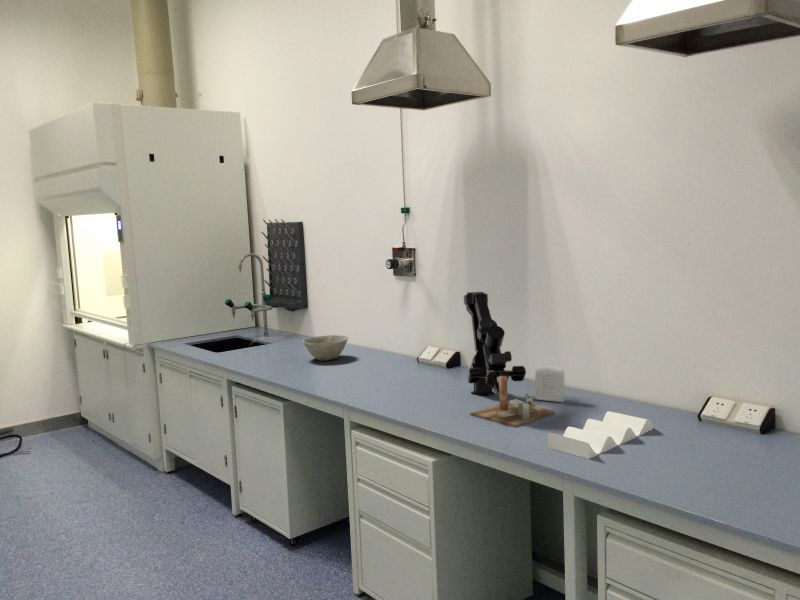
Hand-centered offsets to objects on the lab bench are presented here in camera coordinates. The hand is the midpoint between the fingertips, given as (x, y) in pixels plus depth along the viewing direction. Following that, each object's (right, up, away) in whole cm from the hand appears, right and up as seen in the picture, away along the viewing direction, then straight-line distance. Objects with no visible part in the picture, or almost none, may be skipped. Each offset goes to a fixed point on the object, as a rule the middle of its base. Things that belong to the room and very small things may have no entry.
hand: (500, 396), depth 217 cm
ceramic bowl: (-69, +2, +108) cm, 128 cm away
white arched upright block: (+20, -4, +20) cm, 29 cm away
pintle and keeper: (+9, -6, +1) cm, 11 cm away
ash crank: (+5, -6, +1) cm, 8 cm away
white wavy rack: (+27, -10, -22) cm, 36 cm away
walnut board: (+5, -7, +5) cm, 9 cm away
